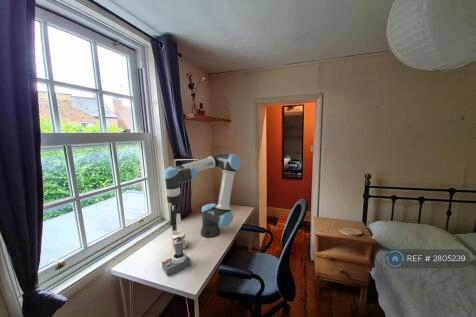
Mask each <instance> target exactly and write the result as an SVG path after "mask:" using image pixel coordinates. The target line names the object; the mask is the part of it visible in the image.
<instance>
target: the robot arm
mask: <svg viewBox="0 0 476 317" xmlns="http://www.w3.org/2000/svg"><path fill="white" fill-rule="evenodd" d="M241 164H242V162H241V158H240V156H239V155H238V154H236V153H223V152H221V153H217V154H213V155H209V156H208V157H206V158H202V159H199V160H195V161H192V162H188V163H184V164H180V165H177V166H175V165H173V166H168V168H166V169H165V170H164V182H165V190H164V191H165V192H166V198H167V199H166V200H167V203H169V204H171V205H170V206H169V207H170V223H169V225H170V226H171V234H172V235H178V231H179V230H178V225H179V224H180V225H181V224H182V220H181V213H182V210H181V207H180V202H181V201H182V200H181V199H182V195H181V186H180V184H181V183H185V182H190V181H193V180H195V179H197V176H198V172H200V171H203V170H207V169H209V168H210V169H214V168H216V169H217V168H219V169H220V168H221V169H220V170H221V172H222V174H221V176H222V177H221V183H220V189H219V195H218V203H217V204H216V203H207V204H205V205H202V207H201V222H202V224H201V225H202V226H201V229H200V235H201V237H204V238H209V239H210V238H214V237H217V236H219V234H220V232H221V229H220V227H222V228H227V227H228V226H230V225H231V223H232V222H233V219H234V214H233V212H232V208H231V207H230V206H231V205H230V202H231V198H232V197H231V196H232V190H233V185H234V184H233V183H234V179H235V178H234V177H235V174H236V173H237V171H238V170H239V169H240V167H241Z"/></svg>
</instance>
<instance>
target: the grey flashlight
mask: <svg viewBox="0 0 476 317" xmlns="http://www.w3.org/2000/svg"><path fill="white" fill-rule="evenodd" d="M182 241H183V240H182V237H176V238H175V239H174V243H175V250H174V253H175V254H176V258H181V257H183V256H184V254H183V251H184V248H183V242H182Z"/></svg>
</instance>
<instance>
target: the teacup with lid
mask: <svg viewBox="0 0 476 317" xmlns="http://www.w3.org/2000/svg"><path fill="white" fill-rule="evenodd" d="M185 236H186V234H185V232H183V231H180V230H178V235H173V234H172V235H171V242H172V249H173V250H174V251H175V243H174V239H175V238H176V237H182V240H183V241H182V242H183V249H185V247H186V246H187V245H188V244H189V243H188V242H189V241H188V239H186V237H185Z"/></svg>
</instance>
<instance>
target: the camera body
mask: <svg viewBox="0 0 476 317" xmlns="http://www.w3.org/2000/svg"><path fill="white" fill-rule="evenodd" d="M183 254H184V256H183V257H181V258H176V254H175V252H173V253H172V254H171V257H169V258H167V259H164V260H162V261H161V266H162V268H161V269H162V270H163V272H164V274H165V275H166V277H169V276H171V275H173V274H175V273H177V272H179V271H181V270H184V269H185V268H187V267H189V266H191V258H190V257H189V256H188V255H187V253H186V251H184V250H183Z"/></svg>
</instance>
